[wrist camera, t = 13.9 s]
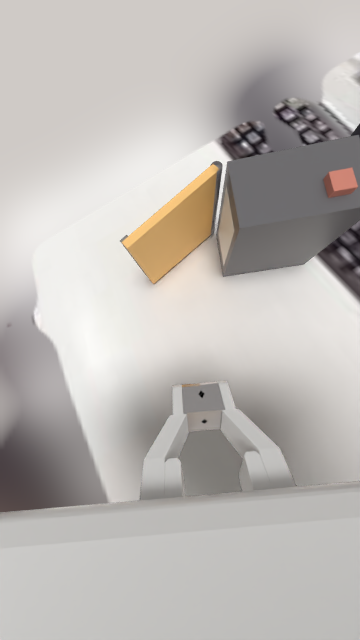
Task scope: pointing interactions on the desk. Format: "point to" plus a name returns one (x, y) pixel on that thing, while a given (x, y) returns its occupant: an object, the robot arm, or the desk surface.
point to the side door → (177, 226)
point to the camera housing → (287, 205)
